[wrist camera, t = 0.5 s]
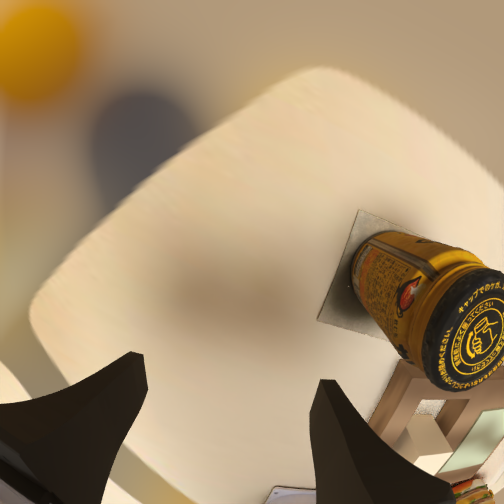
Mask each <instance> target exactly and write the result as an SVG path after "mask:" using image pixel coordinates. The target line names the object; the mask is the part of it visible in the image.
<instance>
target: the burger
mask: <svg viewBox="0 0 504 504" xmlns="http://www.w3.org/2000/svg"><path fill="white" fill-rule="evenodd" d="M487 489H488V487H487V484H485V482H484V481H483V480H481V479H474V480H469V481H466V482H464V483H461V484H459V485H457V486H455V487H453V488H452V490H453V492H454V495H455V498H456V504H495V501H494V499H493V496H494V494H493V492H492V490H489V491H488V490H487Z"/></svg>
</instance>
